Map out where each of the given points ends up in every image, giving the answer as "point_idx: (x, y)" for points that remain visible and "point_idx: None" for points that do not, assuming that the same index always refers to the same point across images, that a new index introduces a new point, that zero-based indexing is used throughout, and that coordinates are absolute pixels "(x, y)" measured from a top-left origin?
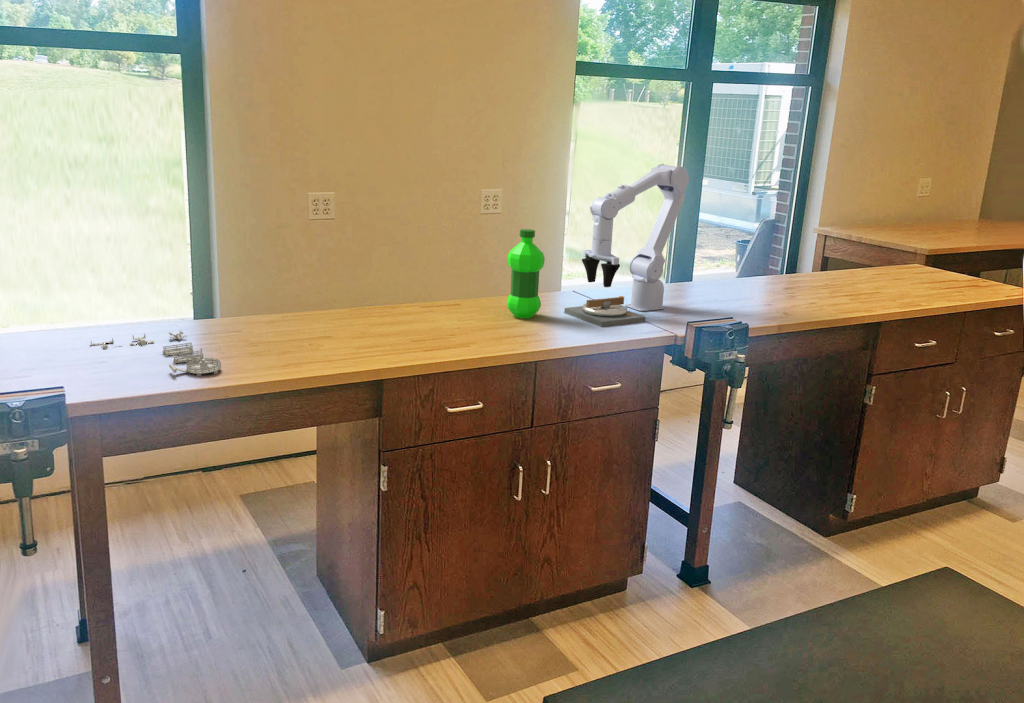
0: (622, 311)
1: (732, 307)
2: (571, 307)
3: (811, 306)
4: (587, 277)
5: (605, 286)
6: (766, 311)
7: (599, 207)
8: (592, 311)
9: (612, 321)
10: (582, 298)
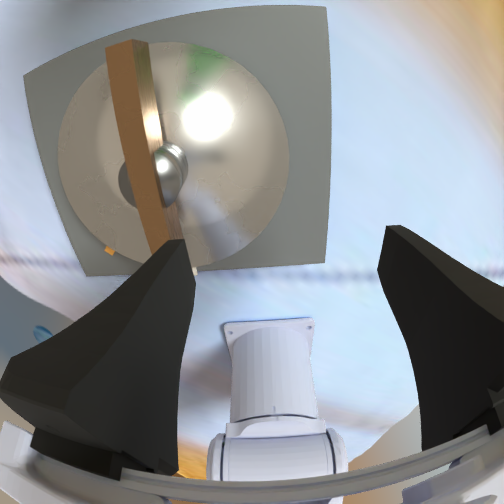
0: (74, 208)
1: (218, 433)
2: (324, 46)
3: (203, 460)
4: (420, 238)
5: (162, 245)
6: (184, 440)
7: None
8: (105, 63)
9: (34, 125)
10: (465, 252)
